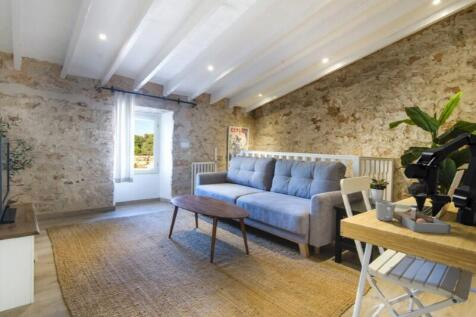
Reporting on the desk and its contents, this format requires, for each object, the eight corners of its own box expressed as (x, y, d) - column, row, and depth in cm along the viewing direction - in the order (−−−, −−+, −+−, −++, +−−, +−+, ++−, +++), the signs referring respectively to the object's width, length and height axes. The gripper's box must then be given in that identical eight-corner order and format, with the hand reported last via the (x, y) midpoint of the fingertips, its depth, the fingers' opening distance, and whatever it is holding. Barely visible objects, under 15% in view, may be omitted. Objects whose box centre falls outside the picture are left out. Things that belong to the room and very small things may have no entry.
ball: (424, 216, 110) (428, 224, 109) (415, 218, 112) (418, 226, 111) (423, 218, 107) (427, 226, 106) (414, 220, 109) (418, 228, 109)
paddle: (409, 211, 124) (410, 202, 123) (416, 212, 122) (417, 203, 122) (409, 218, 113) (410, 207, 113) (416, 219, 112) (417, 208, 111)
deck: (419, 217, 125) (419, 211, 124) (438, 226, 112) (439, 220, 111) (389, 216, 125) (389, 210, 125) (405, 224, 112) (405, 218, 112)
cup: (399, 225, 112) (401, 207, 111) (379, 223, 113) (381, 205, 113) (390, 218, 122) (391, 201, 121) (372, 216, 124) (373, 200, 123)
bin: (435, 226, 112) (435, 218, 111) (450, 233, 103) (451, 224, 103) (401, 224, 112) (402, 216, 112) (413, 231, 104) (414, 223, 104)
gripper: (398, 175, 123) (396, 207, 124) (426, 181, 105) (423, 219, 106) (422, 176, 123) (419, 208, 124) (454, 182, 105) (450, 220, 106)
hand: (426, 213), depth 115 cm, fingers open, 8 cm apart
